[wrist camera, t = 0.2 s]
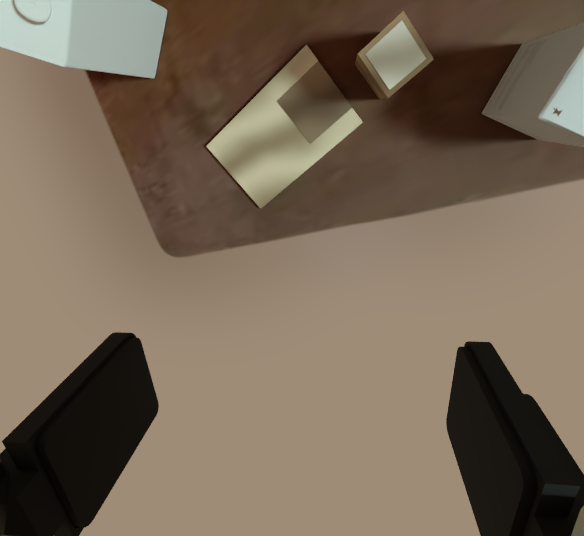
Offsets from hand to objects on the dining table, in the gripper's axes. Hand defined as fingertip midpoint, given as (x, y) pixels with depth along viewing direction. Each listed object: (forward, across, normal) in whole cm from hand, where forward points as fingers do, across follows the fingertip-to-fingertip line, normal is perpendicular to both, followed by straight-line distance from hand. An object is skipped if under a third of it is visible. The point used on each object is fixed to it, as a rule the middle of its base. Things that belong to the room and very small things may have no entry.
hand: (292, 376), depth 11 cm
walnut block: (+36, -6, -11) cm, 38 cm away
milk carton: (+37, +22, -16) cm, 46 cm away
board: (+36, +6, -5) cm, 37 cm away
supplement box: (+37, -21, -7) cm, 43 cm away
